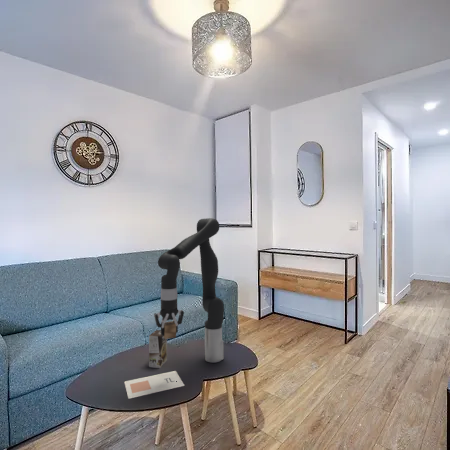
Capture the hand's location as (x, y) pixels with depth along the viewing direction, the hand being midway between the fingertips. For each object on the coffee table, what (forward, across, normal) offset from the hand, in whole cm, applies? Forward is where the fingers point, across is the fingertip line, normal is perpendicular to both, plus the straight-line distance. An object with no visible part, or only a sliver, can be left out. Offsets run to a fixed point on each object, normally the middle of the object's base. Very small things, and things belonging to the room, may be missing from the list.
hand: (169, 334), depth 138 cm
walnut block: (+1, 0, 0) cm, 1 cm away
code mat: (+21, +7, 0) cm, 22 cm away
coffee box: (+22, +1, -19) cm, 29 cm away
